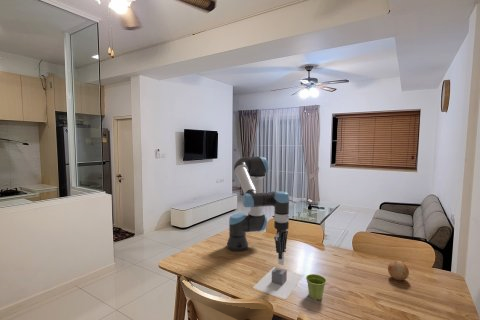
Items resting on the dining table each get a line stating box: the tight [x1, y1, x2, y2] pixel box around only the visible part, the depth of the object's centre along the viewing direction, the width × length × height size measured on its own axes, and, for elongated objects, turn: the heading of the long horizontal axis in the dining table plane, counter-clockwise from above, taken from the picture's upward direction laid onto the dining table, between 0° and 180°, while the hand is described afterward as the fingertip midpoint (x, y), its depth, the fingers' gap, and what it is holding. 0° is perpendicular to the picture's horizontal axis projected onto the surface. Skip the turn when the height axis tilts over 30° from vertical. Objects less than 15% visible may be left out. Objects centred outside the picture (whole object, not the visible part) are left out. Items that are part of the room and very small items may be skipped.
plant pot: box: [305, 273, 327, 301], centre depth 121 cm, size 9×9×9 cm
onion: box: [387, 259, 410, 281], centre depth 137 cm, size 10×10×10 cm
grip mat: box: [252, 266, 304, 300], centre depth 134 cm, size 18×26×1 cm
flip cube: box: [272, 266, 288, 285], centre depth 134 cm, size 6×6×6 cm
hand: (281, 263), depth 135 cm, fingers closed
